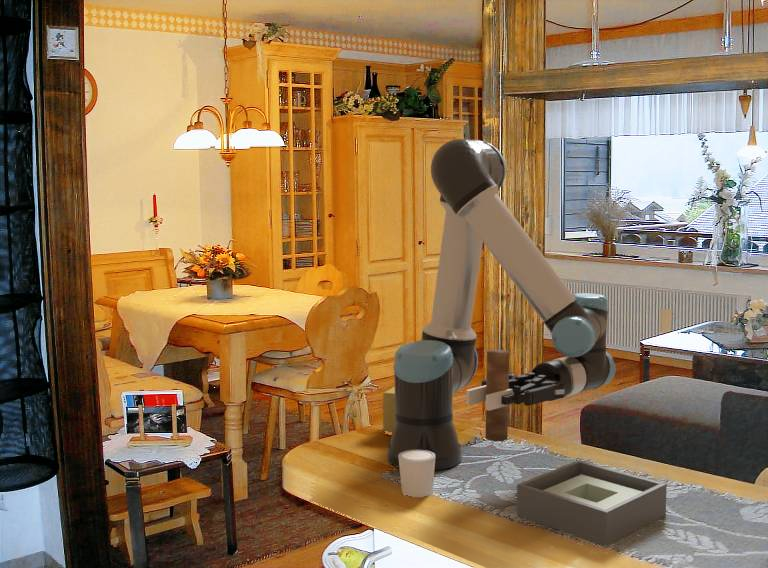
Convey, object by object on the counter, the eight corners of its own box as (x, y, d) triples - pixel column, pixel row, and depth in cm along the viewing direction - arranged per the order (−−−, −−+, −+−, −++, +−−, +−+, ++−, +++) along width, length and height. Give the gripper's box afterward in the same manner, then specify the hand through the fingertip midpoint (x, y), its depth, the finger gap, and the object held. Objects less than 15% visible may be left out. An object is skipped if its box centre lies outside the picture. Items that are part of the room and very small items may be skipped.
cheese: (441, 427, 204) (441, 384, 203) (424, 440, 195) (423, 396, 193) (399, 423, 208) (399, 381, 207) (380, 435, 199) (379, 391, 198)
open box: (516, 515, 151) (516, 484, 151) (578, 489, 163) (578, 460, 162) (606, 546, 138) (606, 512, 138) (665, 515, 150) (666, 483, 150)
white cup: (433, 499, 160) (432, 461, 159) (395, 497, 161) (394, 459, 160) (438, 486, 166) (438, 449, 165) (402, 484, 168) (401, 448, 167)
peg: (480, 437, 163) (482, 351, 161) (495, 433, 166) (496, 348, 164) (497, 442, 160) (499, 355, 158) (512, 438, 163) (513, 352, 161)
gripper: (593, 406, 168) (514, 431, 153) (522, 389, 181) (442, 411, 165) (595, 367, 167) (515, 388, 152) (523, 353, 180) (442, 371, 164)
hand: (477, 400), depth 158 cm, fingers closed on peg, 4 cm apart
